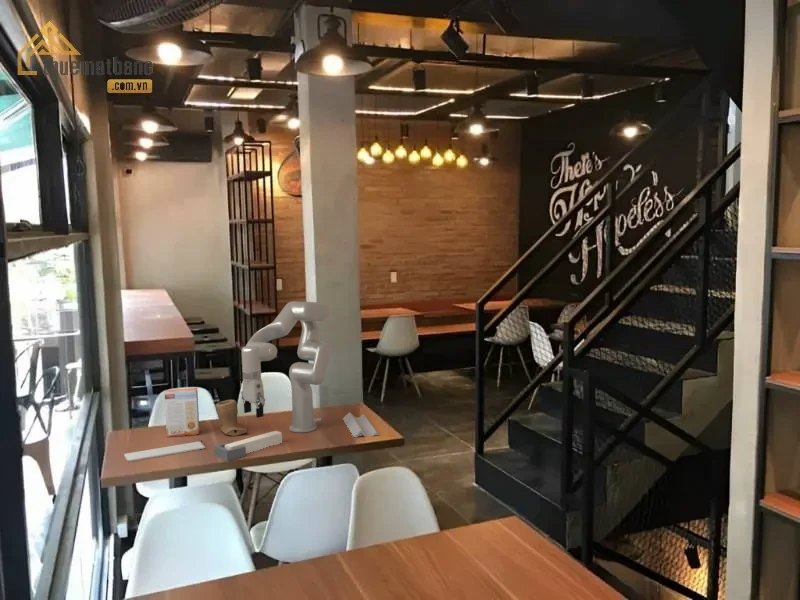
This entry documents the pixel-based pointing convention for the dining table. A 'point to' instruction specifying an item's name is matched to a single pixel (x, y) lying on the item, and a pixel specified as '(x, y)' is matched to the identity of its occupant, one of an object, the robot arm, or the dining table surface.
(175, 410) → the cracker box
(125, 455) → the baseboard molding
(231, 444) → the cream white rectangular bar
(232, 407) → the tan boot
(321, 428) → the dining table surface
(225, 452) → the end cap
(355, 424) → the crown molding
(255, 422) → the dining table surface
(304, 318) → the robot arm
